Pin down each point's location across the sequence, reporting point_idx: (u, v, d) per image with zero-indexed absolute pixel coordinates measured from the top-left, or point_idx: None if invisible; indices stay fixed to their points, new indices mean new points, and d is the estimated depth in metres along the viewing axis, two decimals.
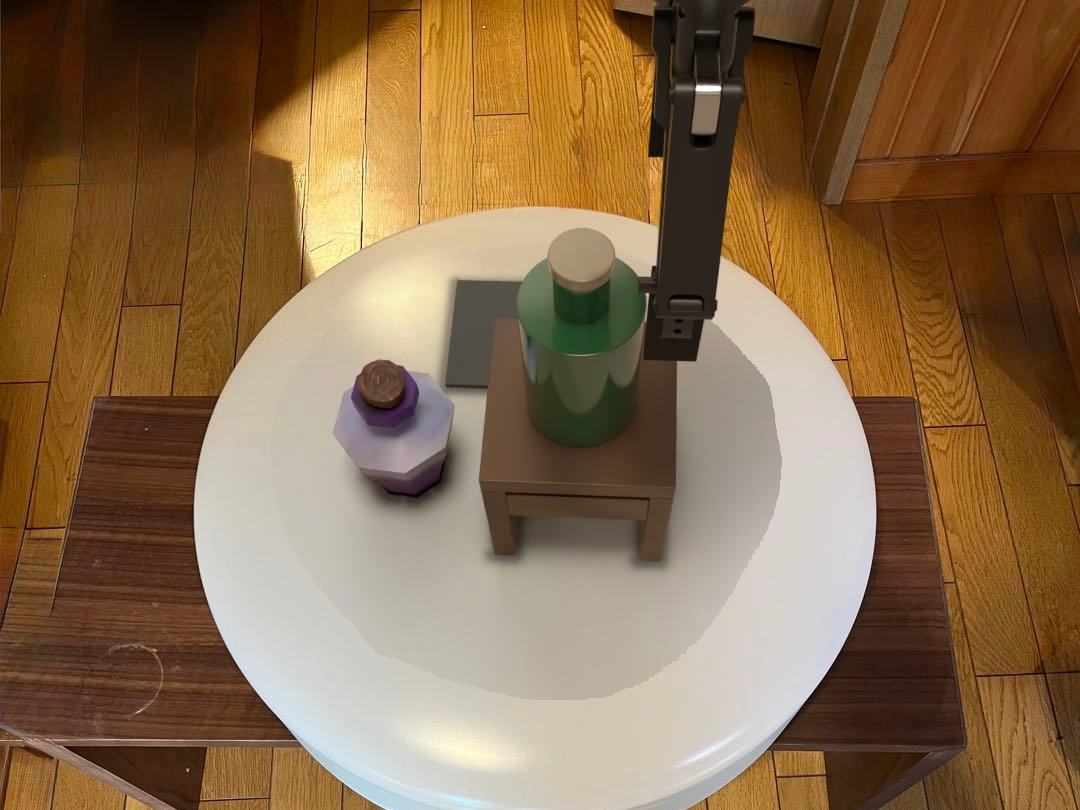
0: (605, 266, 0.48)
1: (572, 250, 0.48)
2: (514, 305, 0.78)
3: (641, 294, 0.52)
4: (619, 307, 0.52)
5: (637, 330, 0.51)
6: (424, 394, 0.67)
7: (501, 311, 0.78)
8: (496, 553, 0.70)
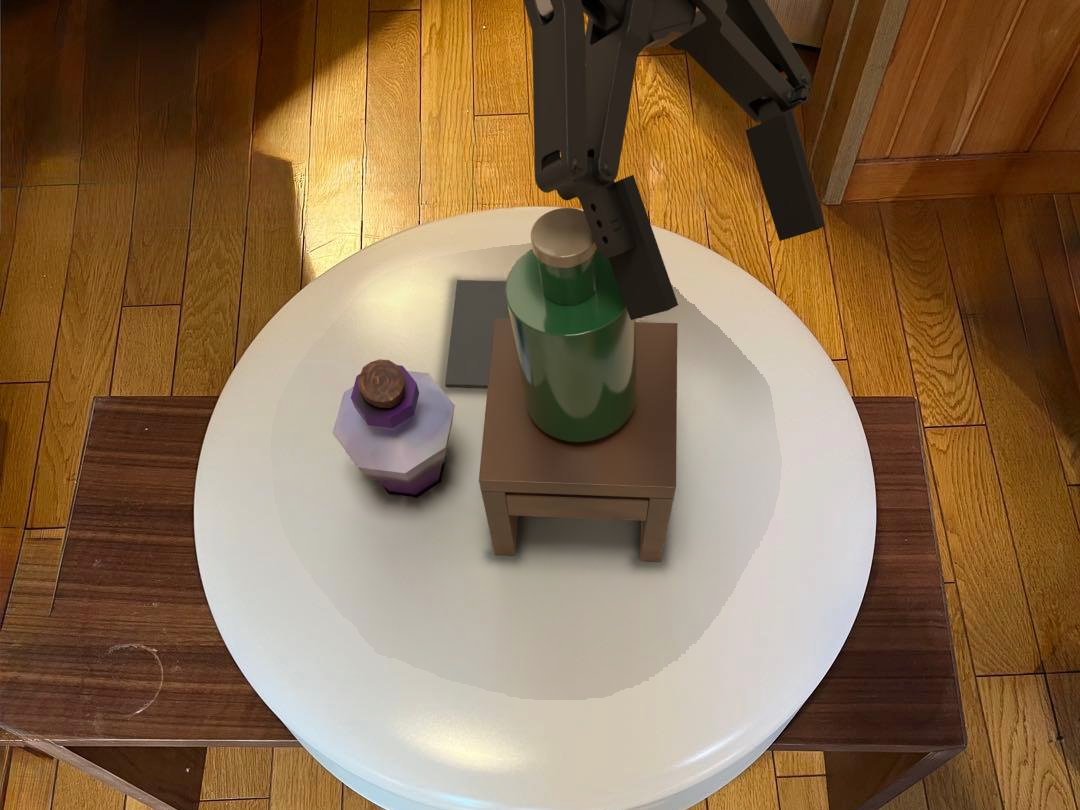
0: (587, 241, 0.48)
1: (555, 228, 0.49)
2: None
3: None
4: (607, 288, 0.52)
5: (625, 309, 0.51)
6: (424, 394, 0.67)
7: (501, 311, 0.78)
8: (496, 553, 0.70)
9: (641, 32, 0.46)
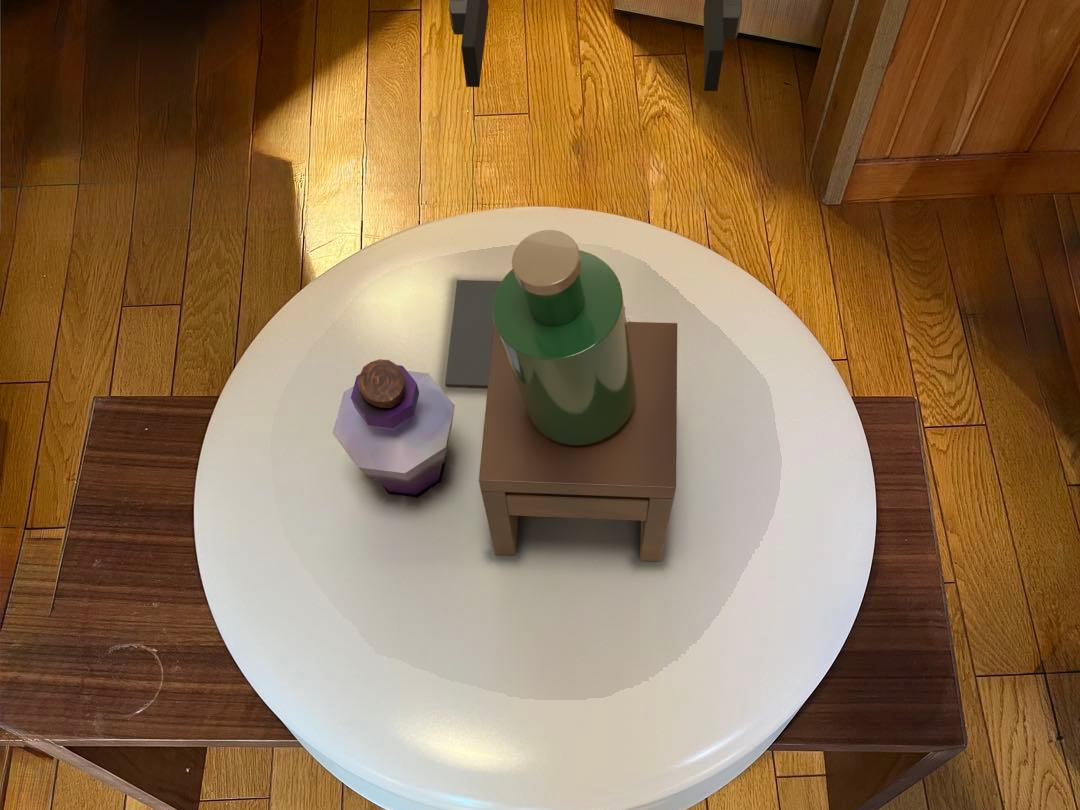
0: (567, 270, 0.47)
1: (536, 253, 0.48)
2: None
3: (617, 295, 0.51)
4: (593, 308, 0.51)
5: (610, 332, 0.50)
6: (424, 394, 0.67)
7: None
8: (496, 553, 0.70)
9: None
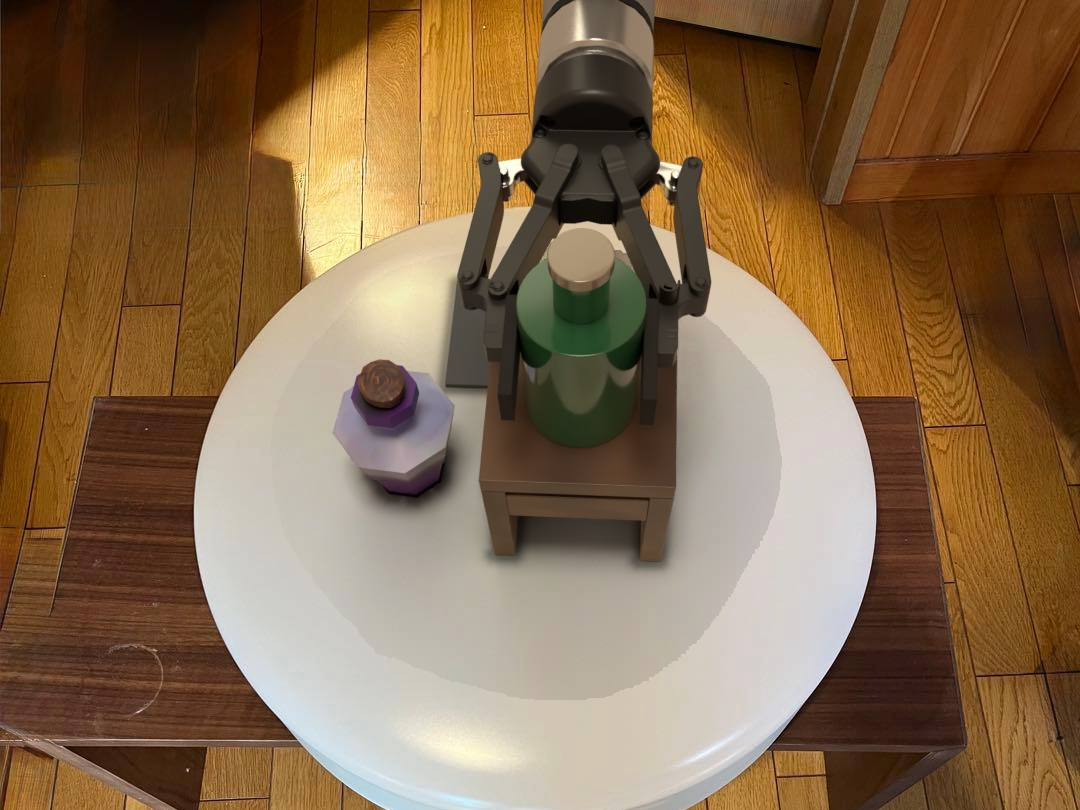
0: (603, 269, 0.48)
1: (572, 250, 0.48)
2: None
3: (641, 300, 0.52)
4: (617, 311, 0.51)
5: (632, 336, 0.51)
6: (424, 394, 0.67)
7: None
8: (496, 553, 0.70)
9: (550, 192, 0.57)
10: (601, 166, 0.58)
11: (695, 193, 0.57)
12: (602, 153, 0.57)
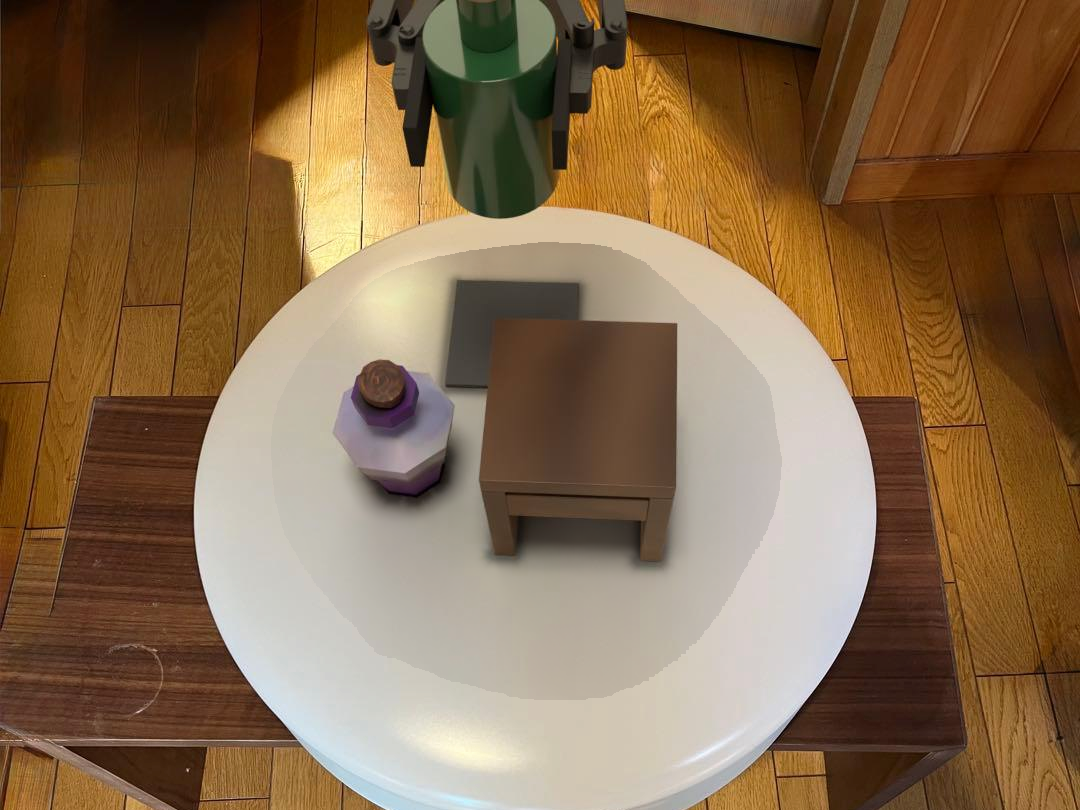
0: None
1: None
2: (514, 305, 0.78)
3: (551, 30, 0.50)
4: (526, 40, 0.50)
5: (541, 63, 0.49)
6: (424, 394, 0.67)
7: (501, 311, 0.78)
8: (496, 553, 0.70)
9: None
10: None
11: None
12: None
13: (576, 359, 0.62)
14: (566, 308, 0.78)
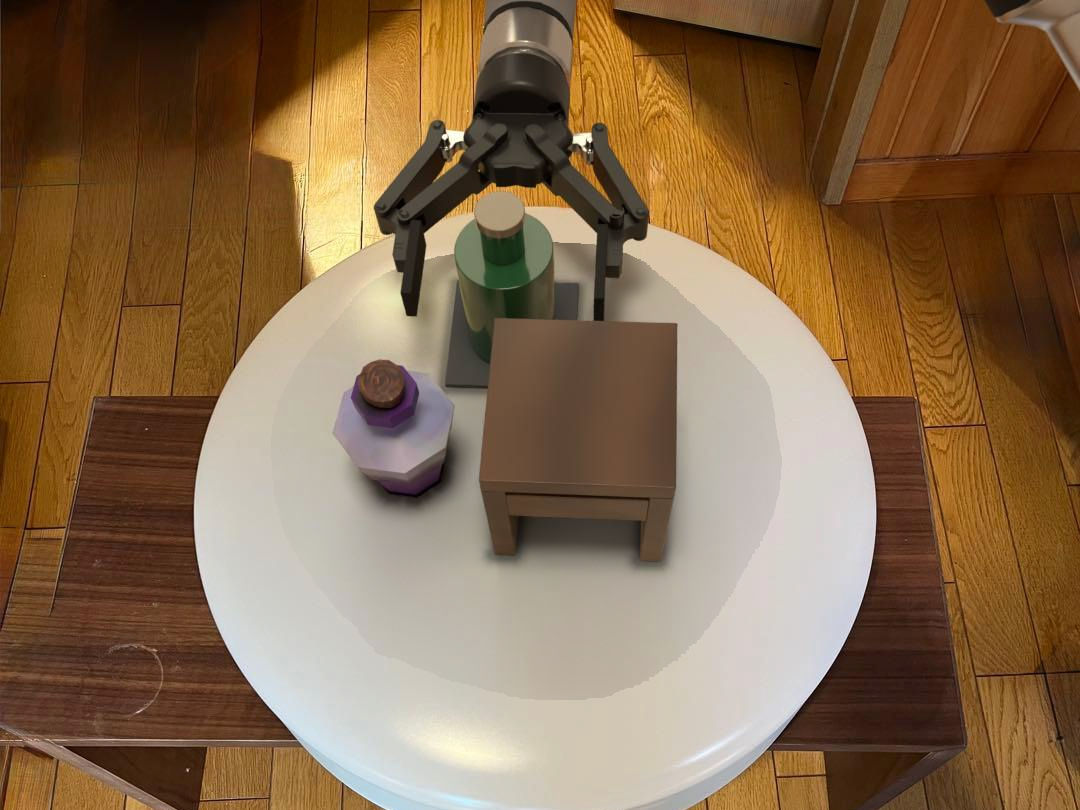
0: (515, 221, 0.64)
1: (493, 207, 0.65)
2: None
3: (549, 247, 0.68)
4: (531, 255, 0.68)
5: (542, 274, 0.67)
6: (424, 394, 0.67)
7: None
8: (496, 553, 0.70)
9: (472, 156, 0.72)
10: (528, 143, 0.73)
11: (610, 149, 0.73)
12: (526, 131, 0.73)
13: (576, 359, 0.62)
14: (566, 308, 0.78)
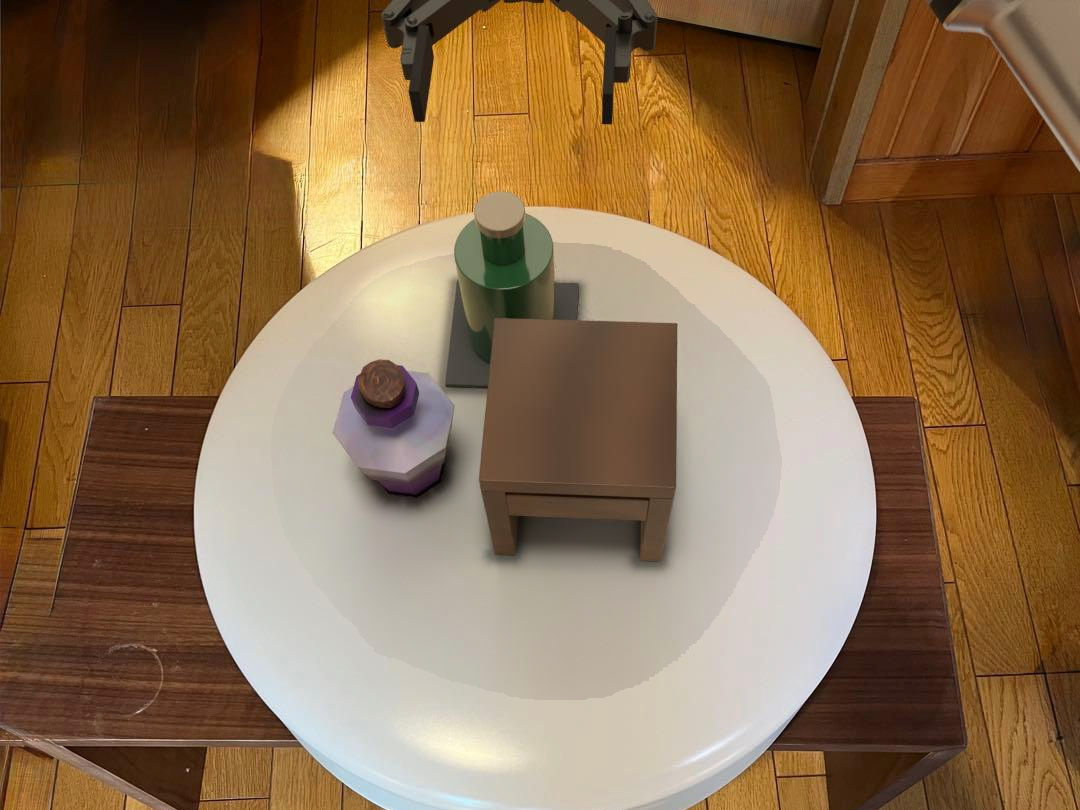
0: (515, 221, 0.64)
1: (493, 207, 0.65)
2: None
3: (549, 247, 0.68)
4: (531, 255, 0.68)
5: (542, 274, 0.67)
6: (424, 394, 0.67)
7: None
8: (496, 553, 0.70)
9: None
10: None
11: None
12: None
13: (576, 359, 0.62)
14: (566, 308, 0.78)
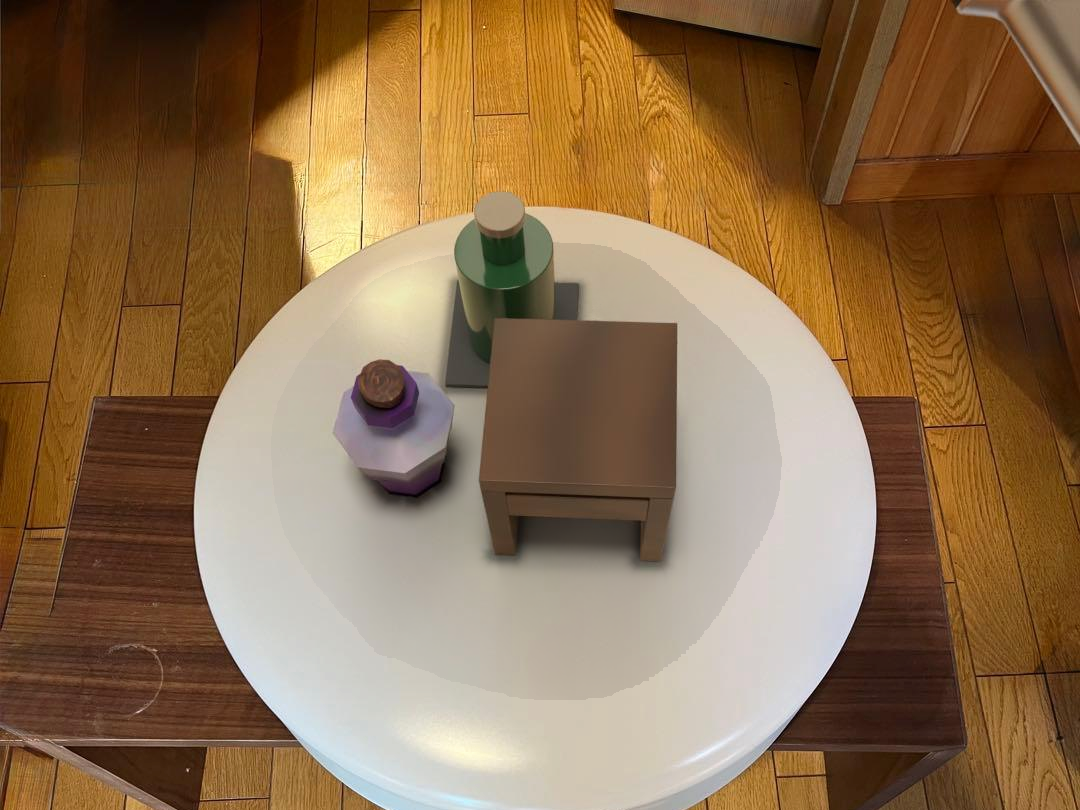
0: (515, 221, 0.64)
1: (493, 207, 0.65)
2: None
3: (549, 247, 0.68)
4: (531, 255, 0.68)
5: (542, 274, 0.67)
6: (424, 394, 0.67)
7: None
8: (496, 553, 0.70)
9: None
10: None
11: None
12: None
13: (576, 359, 0.62)
14: (566, 308, 0.78)
